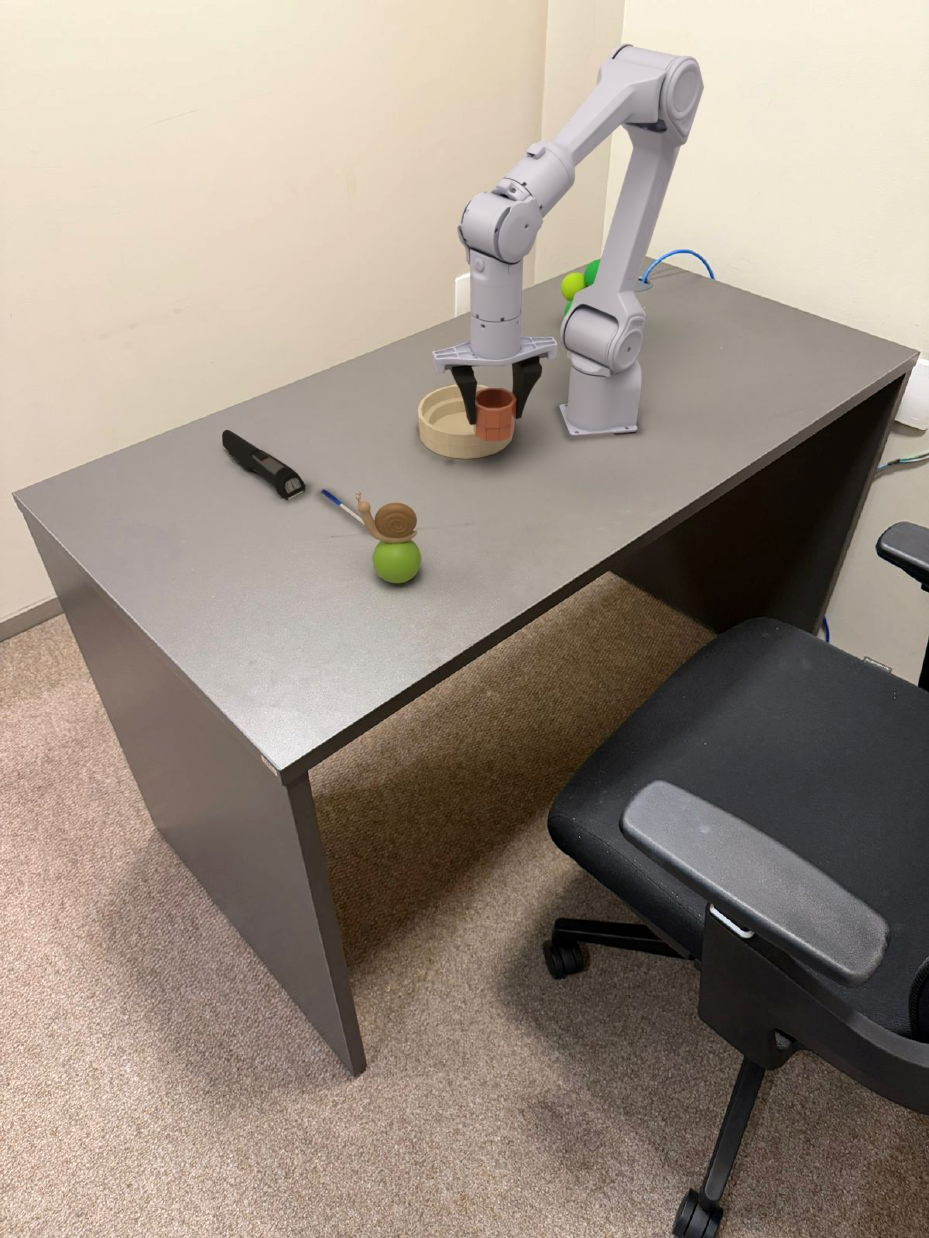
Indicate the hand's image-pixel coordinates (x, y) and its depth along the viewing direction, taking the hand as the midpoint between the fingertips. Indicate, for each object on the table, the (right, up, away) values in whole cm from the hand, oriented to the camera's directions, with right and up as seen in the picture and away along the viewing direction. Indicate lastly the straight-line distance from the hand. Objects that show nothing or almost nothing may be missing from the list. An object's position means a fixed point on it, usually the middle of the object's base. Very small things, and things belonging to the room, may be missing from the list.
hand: (494, 417), depth 106 cm
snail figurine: (-12, -20, -7) cm, 24 cm away
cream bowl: (-3, +1, +13) cm, 14 cm away
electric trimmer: (-30, -6, +8) cm, 32 cm away
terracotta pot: (0, -1, +1) cm, 2 cm away
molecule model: (+17, +21, +34) cm, 43 cm away
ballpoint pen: (-18, -12, +2) cm, 22 cm away
